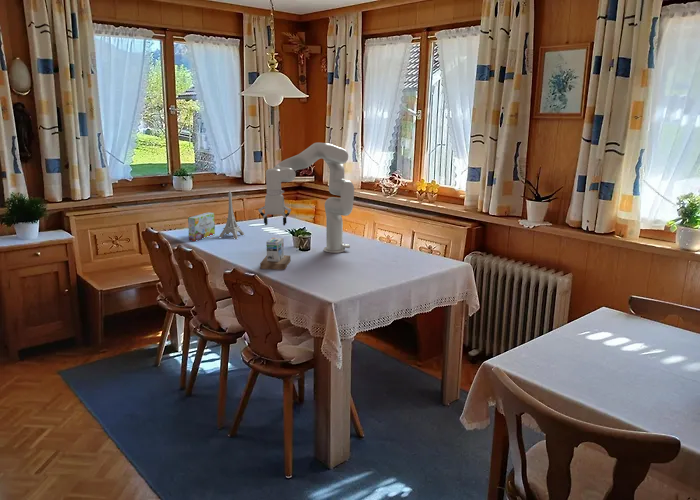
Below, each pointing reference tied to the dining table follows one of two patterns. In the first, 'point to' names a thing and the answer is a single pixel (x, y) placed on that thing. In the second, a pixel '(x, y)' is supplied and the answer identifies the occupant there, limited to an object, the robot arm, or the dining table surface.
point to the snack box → (201, 226)
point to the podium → (275, 263)
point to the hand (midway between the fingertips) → (275, 224)
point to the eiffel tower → (231, 221)
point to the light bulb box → (275, 249)
